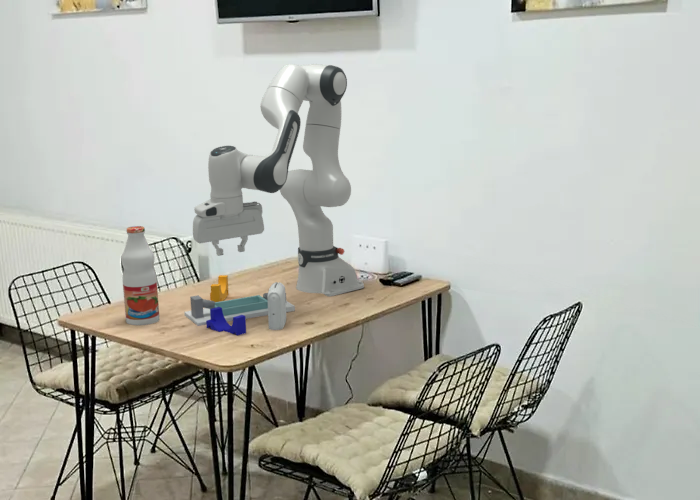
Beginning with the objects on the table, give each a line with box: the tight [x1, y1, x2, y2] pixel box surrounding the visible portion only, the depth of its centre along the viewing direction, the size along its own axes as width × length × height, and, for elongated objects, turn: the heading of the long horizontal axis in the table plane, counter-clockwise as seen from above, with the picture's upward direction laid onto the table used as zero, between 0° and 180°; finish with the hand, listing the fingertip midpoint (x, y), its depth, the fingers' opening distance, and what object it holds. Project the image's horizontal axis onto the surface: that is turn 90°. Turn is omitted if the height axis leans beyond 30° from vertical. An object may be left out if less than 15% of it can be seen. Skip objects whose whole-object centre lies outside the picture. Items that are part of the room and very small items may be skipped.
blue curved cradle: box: [205, 307, 247, 337], centre depth 231 cm, size 12×4×6 cm, turn 45°
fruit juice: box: [120, 225, 160, 326], centre depth 238 cm, size 9×9×28 cm
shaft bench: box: [183, 292, 296, 327], centre depth 247 cm, size 30×12×7 cm, turn 119°
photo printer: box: [267, 281, 287, 331], centre depth 235 cm, size 10×4×12 cm, turn 177°
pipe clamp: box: [209, 274, 230, 302], centre depth 261 cm, size 12×4×6 cm, turn 176°
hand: (230, 253), depth 238 cm, fingers open, 5 cm apart
